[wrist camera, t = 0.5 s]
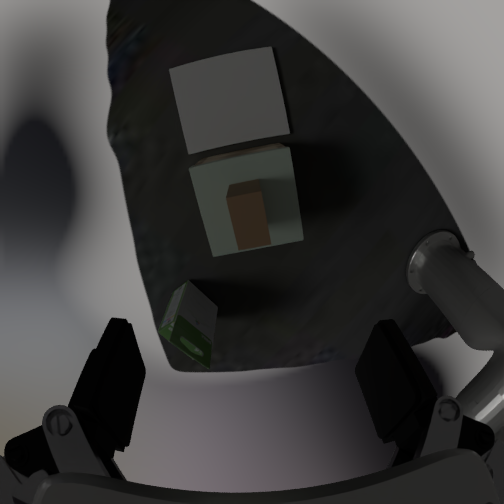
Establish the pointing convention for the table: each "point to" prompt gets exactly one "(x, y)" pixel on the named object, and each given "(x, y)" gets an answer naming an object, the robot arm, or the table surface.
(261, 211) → the lid
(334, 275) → the table surface
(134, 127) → the table surface
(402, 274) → the table surface
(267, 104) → the felt mat
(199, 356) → the ink box
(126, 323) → the robot arm
